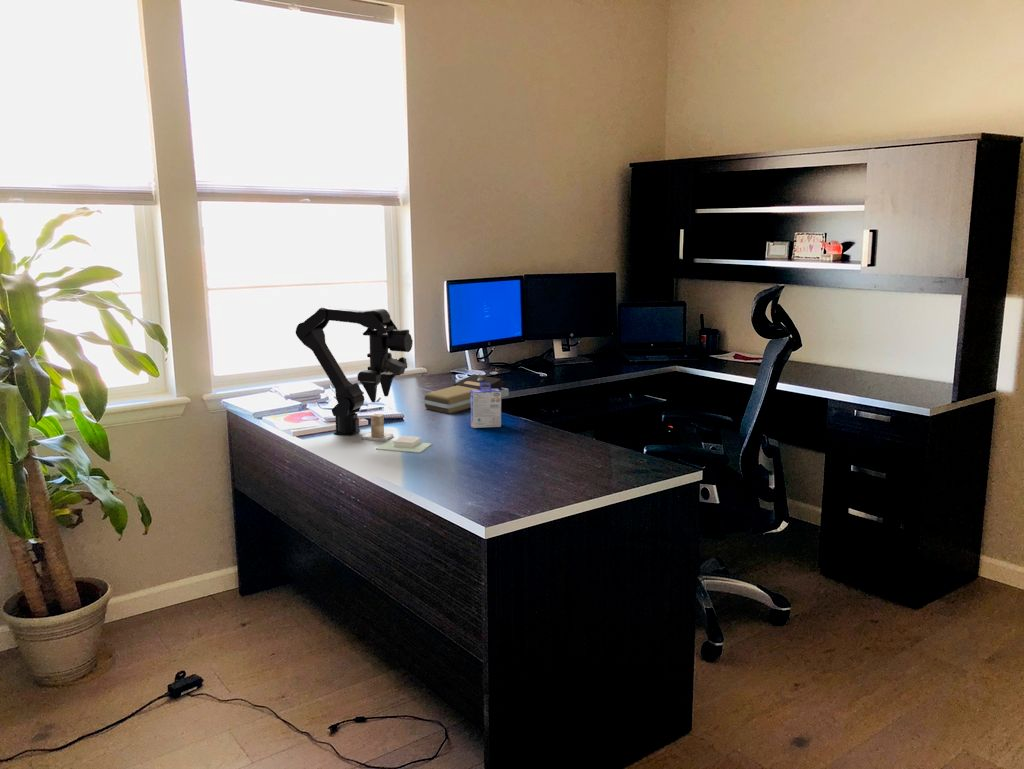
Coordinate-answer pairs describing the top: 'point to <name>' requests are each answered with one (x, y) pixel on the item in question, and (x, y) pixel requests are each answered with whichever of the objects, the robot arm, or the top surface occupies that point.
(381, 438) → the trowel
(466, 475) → the top surface
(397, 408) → the top surface
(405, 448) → the mat
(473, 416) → the ink cartridge box
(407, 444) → the tile
